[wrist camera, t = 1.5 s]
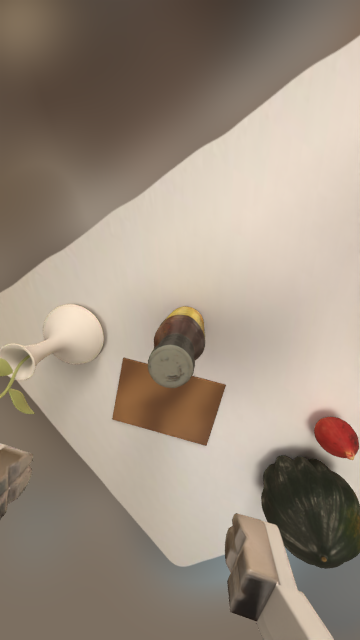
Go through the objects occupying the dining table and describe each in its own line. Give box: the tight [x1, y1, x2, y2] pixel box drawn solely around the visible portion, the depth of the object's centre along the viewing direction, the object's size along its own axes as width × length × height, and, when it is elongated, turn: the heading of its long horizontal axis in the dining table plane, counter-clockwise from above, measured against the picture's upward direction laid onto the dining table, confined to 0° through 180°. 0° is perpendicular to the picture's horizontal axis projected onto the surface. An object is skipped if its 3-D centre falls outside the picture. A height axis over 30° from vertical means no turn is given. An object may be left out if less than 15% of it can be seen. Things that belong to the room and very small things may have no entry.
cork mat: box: [112, 358, 226, 445], centre depth 41 cm, size 20×14×1 cm
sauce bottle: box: [148, 307, 205, 388], centre depth 27 cm, size 6×6×20 cm
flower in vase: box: [0, 304, 104, 414], centre depth 28 cm, size 13×11×25 cm
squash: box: [261, 455, 360, 568], centre depth 35 cm, size 14×15×15 cm
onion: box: [314, 417, 359, 460], centre depth 34 cm, size 6×6×8 cm
